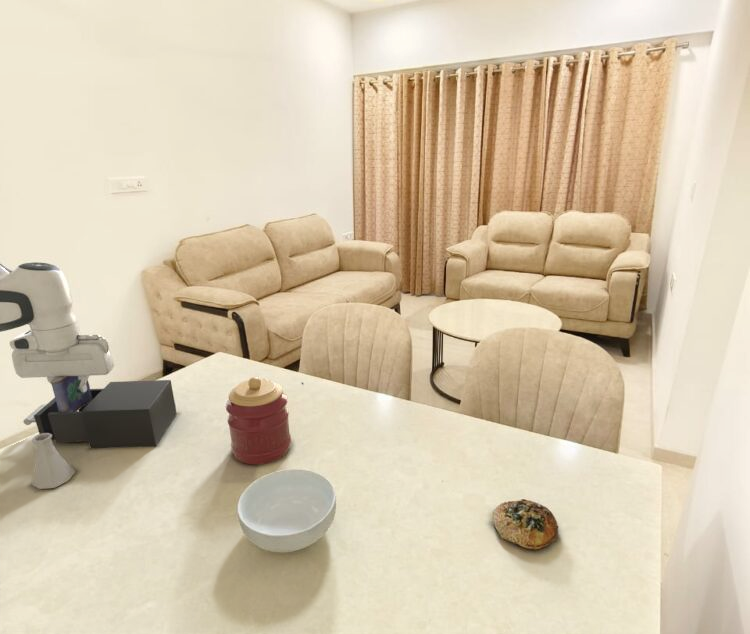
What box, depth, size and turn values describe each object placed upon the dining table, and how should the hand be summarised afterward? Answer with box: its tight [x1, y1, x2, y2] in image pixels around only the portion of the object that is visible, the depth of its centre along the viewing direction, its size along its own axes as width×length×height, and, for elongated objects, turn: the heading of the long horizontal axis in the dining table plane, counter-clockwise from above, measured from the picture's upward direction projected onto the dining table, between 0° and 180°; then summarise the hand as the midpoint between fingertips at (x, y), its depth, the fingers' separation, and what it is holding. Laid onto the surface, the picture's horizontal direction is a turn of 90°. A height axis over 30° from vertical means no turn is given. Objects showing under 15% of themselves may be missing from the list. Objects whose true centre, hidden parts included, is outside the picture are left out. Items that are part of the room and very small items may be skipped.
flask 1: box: [50, 376, 93, 412], centre depth 115 cm, size 9×3×11 cm, turn 169°
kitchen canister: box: [225, 376, 292, 466], centre depth 108 cm, size 13×13×18 cm
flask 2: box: [31, 433, 76, 490], centre depth 101 cm, size 7×7×10 cm
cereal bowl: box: [236, 468, 337, 554], centre depth 86 cm, size 17×17×7 cm
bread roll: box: [492, 498, 559, 551], centre depth 87 cm, size 11×11×5 cm
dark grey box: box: [81, 379, 178, 450], centre depth 118 cm, size 15×15×10 cm
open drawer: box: [22, 388, 104, 443], centre depth 117 cm, size 18×13×8 cm
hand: (72, 392), depth 115 cm, fingers closed on flask 1, 3 cm apart
